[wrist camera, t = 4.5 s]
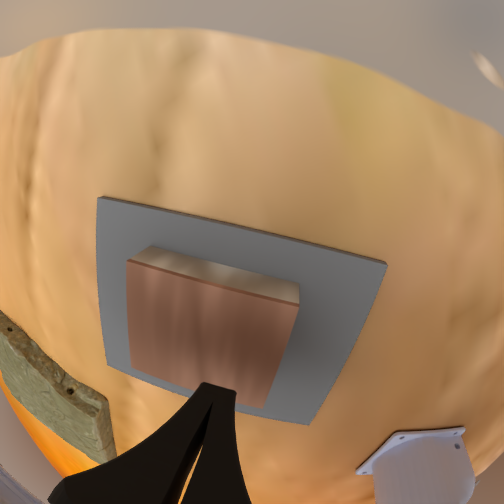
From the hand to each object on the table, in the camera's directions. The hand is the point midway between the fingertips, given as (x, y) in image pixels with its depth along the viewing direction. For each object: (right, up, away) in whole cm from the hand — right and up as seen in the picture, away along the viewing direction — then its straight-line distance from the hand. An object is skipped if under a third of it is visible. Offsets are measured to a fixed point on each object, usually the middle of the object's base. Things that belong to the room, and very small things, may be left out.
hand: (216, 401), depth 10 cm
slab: (+3, +1, +4) cm, 5 cm away
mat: (-1, +1, +6) cm, 6 cm away
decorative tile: (-24, -11, +15) cm, 30 cm away
